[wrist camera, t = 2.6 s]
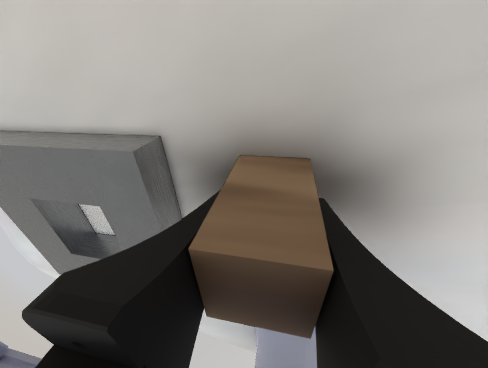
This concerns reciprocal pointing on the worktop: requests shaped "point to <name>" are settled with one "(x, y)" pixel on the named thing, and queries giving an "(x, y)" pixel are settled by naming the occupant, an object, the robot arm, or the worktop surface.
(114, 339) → the robot arm
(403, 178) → the worktop surface
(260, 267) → the block
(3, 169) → the socket plate
